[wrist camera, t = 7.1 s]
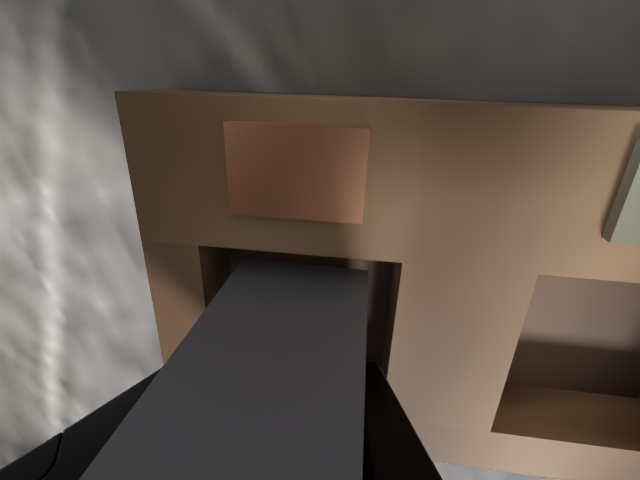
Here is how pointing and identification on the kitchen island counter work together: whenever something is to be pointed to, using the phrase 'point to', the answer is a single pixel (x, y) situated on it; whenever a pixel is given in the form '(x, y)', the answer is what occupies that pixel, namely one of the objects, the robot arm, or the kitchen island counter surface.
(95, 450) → the robot arm
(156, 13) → the kitchen island counter surface
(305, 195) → the socket strip
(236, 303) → the plug
